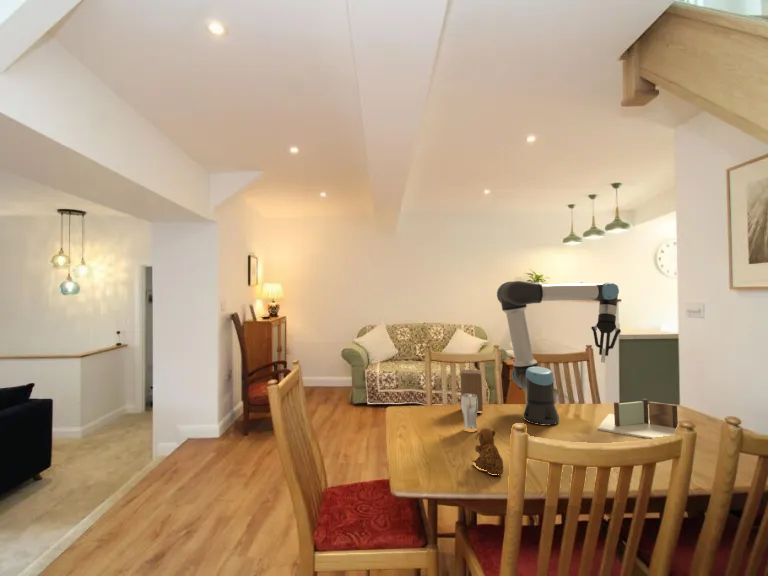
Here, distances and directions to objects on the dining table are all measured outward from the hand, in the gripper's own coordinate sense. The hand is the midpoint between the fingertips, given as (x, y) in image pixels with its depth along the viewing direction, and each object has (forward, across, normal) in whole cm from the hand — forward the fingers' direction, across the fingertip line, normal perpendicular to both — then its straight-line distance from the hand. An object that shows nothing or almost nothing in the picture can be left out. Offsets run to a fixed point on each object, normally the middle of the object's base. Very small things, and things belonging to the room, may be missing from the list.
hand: (602, 362), depth 188 cm
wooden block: (+36, +53, +20) cm, 67 cm away
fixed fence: (+24, -24, +5) cm, 34 cm away
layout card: (+27, -17, +10) cm, 33 cm away
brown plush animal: (+50, +23, +77) cm, 95 cm away
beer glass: (+42, +43, +45) cm, 75 cm away
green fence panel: (+26, -13, +11) cm, 31 cm away
